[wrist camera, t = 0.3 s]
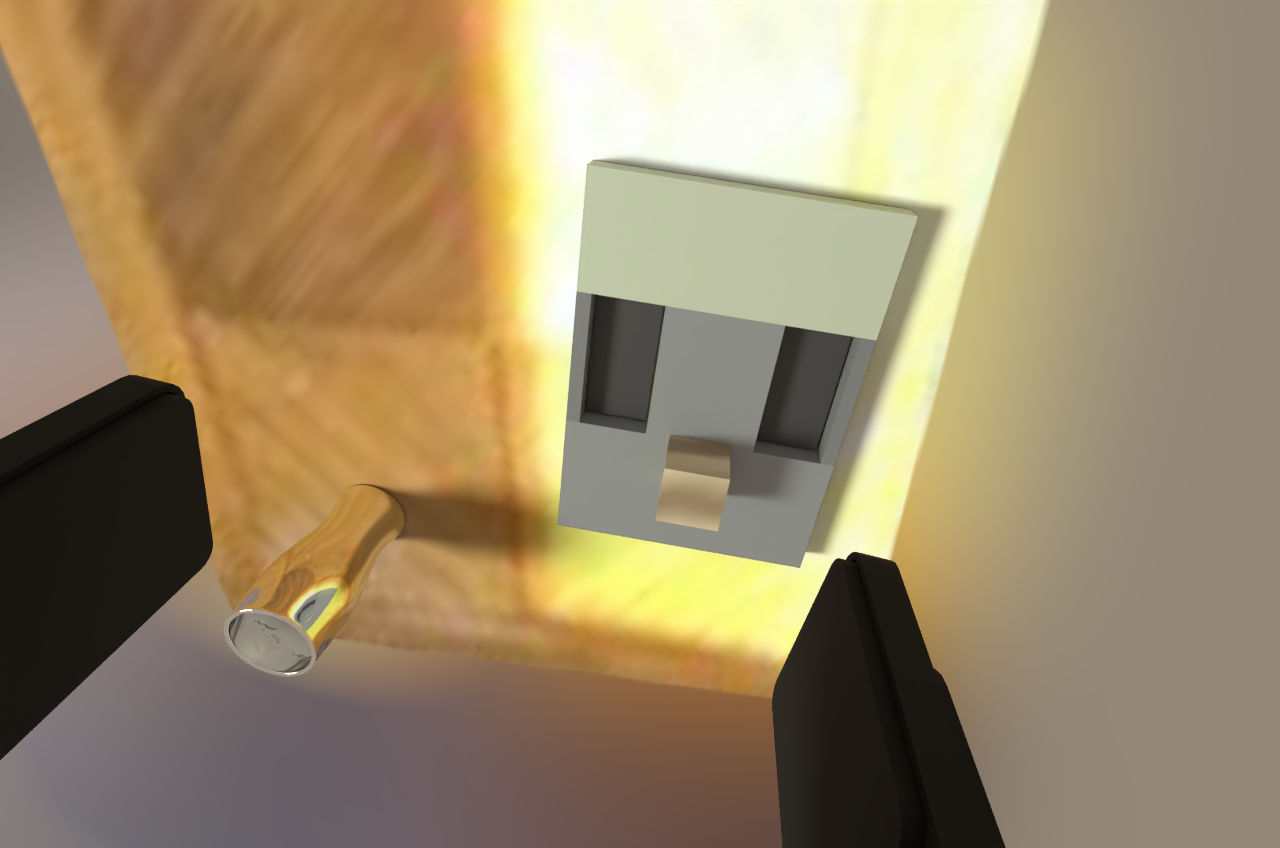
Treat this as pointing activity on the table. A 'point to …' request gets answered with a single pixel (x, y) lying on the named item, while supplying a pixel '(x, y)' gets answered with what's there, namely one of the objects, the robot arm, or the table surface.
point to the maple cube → (694, 483)
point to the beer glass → (314, 585)
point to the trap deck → (720, 349)
